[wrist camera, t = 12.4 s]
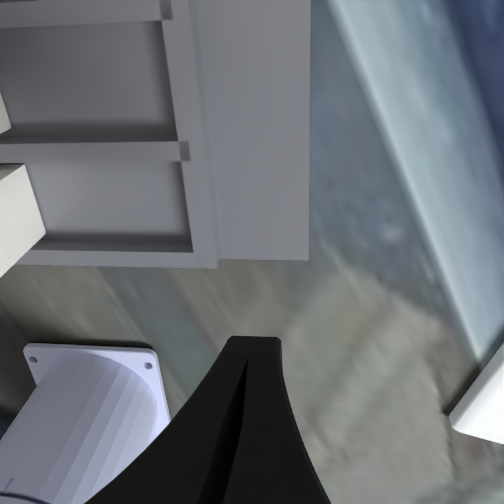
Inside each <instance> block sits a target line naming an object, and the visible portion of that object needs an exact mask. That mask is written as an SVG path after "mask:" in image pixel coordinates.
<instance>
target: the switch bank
mask: <svg viewBox="0 0 504 504" xmlns="http://www.w3.org/2000/svg"><path fill="white" fill-rule="evenodd" d="M310 82H311V0H0V93H1V96H2V99H3V102H4V105H5V108H6V112H7V115H8V118H9V121H10V124H11V127H12V128H11V129H9V130H7V131H5V132H3V133H1V134H0V165H17V164H24V165H25V168H26V171H27V174H28V177H29V180H30V184H31V187H32V190H33V193H34V196H35V199H36V202H37V206H38V209H39V212H40V215H41V218H42V221H43V225H44V228H45V231H46V234H45V235H44V236H43V237H42V238H41V239H40V240H39V241H38V242H37V243H35V244H34V245H33V246H32V247H31V248H30V249H29V250H28V251H27V252H26V253H25V254H24V255H23V256H22V257H21V258H20V259H19V260H18V261H17V262H16V263H15V264H29V265H74V266H120V267H165V268H211V269H218V266H219V263H220V260H221V259H261V260H309V198H310Z"/></svg>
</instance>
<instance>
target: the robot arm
mask: <svg viewBox="0 0 504 504" xmlns="http://www.w3.org/2000/svg"><path fill="white" fill-rule="evenodd" d="M23 353H24V355H25V358H26V360H27V363H28V365H29V368H30V370H31V373H32V375H33V378H34V380H35V383H36V385H37V387H36V388H35V390H34V391H33V393H32V394H31V396H30V397H29V399H28V400H27V402H26V403H25V405H24V406H23V408H22V409H21V411H20V412H19V414H18V415H17V417H16V418H15V419H14V421H13V422H12V424H11V425H10V427H9V428H8V430H7V431H6V433H5V434H4V436H3V437H2V439H1V440H0V504H331V502H330V500H329V498H328V496H327V494H326V492H325V490H324V488H323V486H322V484H321V482H320V480H319V478H318V476H317V474H316V472H315V469H314V467H313V465H312V463H311V460H310V458H309V456H308V453H307V451H306V448H305V446H304V443H303V441H302V438H301V435H300V433H299V430H298V427H297V424H296V421H295V418H294V415H293V412H292V408H291V405H290V402H289V398H288V394H287V390H286V386H285V382H284V377H283V369H282V347H281V340H280V339H279V338H277V337H256V336H231V337H230V338H229V339H228V340H227V342H226V344H225V346H224V348H223V349H222V351H221V353H220V354H219V356H218V358H217V359H216V361H215V362H214V364H213V365H212V367H211V368H210V370H209V371H208V373H207V374H206V376H205V377H204V379H203V380H202V381H201V383H200V384H199V386H198V387H197V388H196V390H195V391H194V393H193V394H192V395H191V397H190V398H189V399H188V400H187V402H186V403H185V404H184V405H183V407H182V408H181V409H180V410H179V412H178V413H177V414H176V415H175V417H174V418H173V419H172V420H171V419H170V415H169V410H168V405H167V401H166V396H165V391H164V386H163V382H162V377H161V372H160V368H159V363H158V358H157V354H156V353H155V352H154V351H153V350H151V349H148V348H128V347H106V346H85V345H63V344H41V343H28V344H27V345H26V346H25V347H24V349H23ZM147 362H148V363H150V364H148V363H147Z"/></svg>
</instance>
